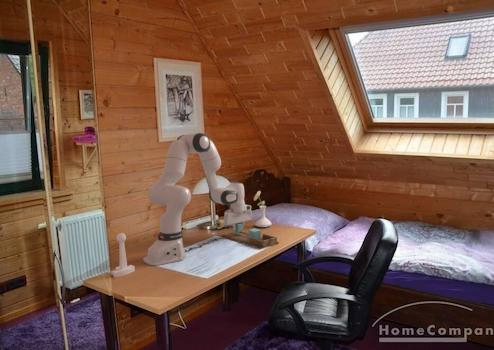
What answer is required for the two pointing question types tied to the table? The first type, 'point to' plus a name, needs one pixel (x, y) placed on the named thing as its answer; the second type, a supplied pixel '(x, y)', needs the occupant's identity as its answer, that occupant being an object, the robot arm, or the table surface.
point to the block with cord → (252, 232)
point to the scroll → (221, 224)
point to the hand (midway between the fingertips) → (238, 229)
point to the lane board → (253, 240)
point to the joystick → (122, 259)
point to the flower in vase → (262, 214)
